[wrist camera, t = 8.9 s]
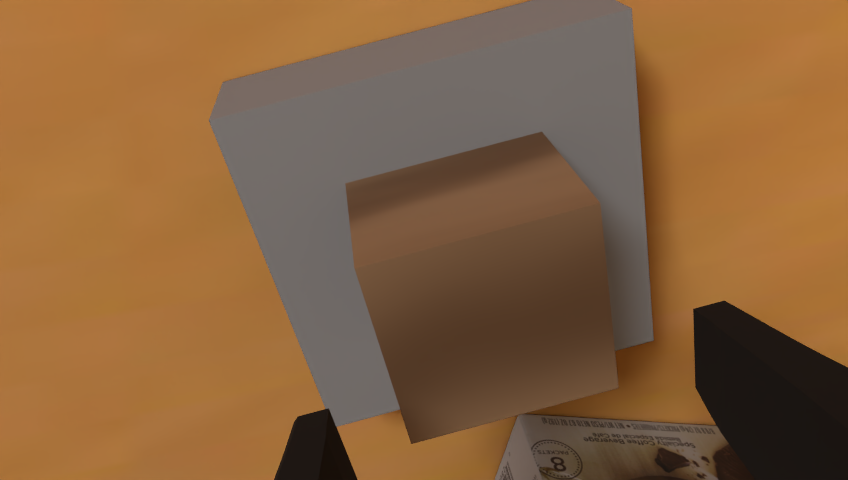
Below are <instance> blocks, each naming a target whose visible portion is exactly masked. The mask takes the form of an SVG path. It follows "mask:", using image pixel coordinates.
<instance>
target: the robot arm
mask: <svg viewBox="0 0 848 480" xmlns="http://www.w3.org/2000/svg"><path fill="white" fill-rule="evenodd" d="M693 312H694V348H695V384H696V389H697V391H698V393H699V395H700V396H701V398H702V400H703V402H704V404H705V406H706V407H707V409H708V411H709V413H710V415H711V416H712V418H713V420H714V422H715V423H716V425H717V427H718V428H719V430H720V432H721V434H722V435H723V436H724V438H725V439H726V441H727V442H728V443H729V445H730V446H731V447H732V449H733V450H734V451H735V453H736V454H737V456H738V457H739V458H740V460H741V461H742V462H743V464H744V465H745V466H746V468H747V469H748V471H749V472H750V473H751V475H752V476H753V477H754V479H755V480H848V367H846V366H844V365H842V364H840V363H838V362H836V361H834V360H832V359H830V358H828V357H826V356H824V355H822V354H820V353H818V352H816V351H814V350H812V349H810V348H809V347H807V346H805V345H803V344H801V343H799V342H797V341H796V340H794V339H792V338H790V337H788V336H787V335H785V334H783V333H781V332H779V331H778V330H776V329H774V328H772V327H770V326H769V325H767V324H765V323H763V322H761V321H760V320H758V319H756V318H754V317H753V316H751V315H749V314H747V313H746V312H744V311H742V310H740V309H738V308H737V307H735V306H733V305H731V304H729V303H727V302H726V301H721V302H717V303H714V304H710V305H706V306H703V307H699V308H695V309H693ZM274 480H357V477H356V475H355V472H354V470H353V467H352V465H351V462H350V460H349V457H348V455H347V452H346V450H345V447H344V445H343V442H342V440H341V438H340V435H339V433H338V430H337V428H336V425H335V423H334V420H333V418H332V415H331V413H330V410H329V408H328V409H324V410H321V411H317V412H313V413H310V414H306V415H302V416H299V417H297V419H296V420H295V422H294V424H293V427H292V430H291V433H290V436H289V439H288V442H287V445H286V448H285V451H284V454H283V457H282V460H281V462H280V465H279V468H278V471H277V473H276V476H275V479H274Z"/></svg>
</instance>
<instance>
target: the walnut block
mask: <svg viewBox="0 0 848 480" xmlns="http://www.w3.org/2000/svg"><path fill="white" fill-rule="evenodd" d="M345 185H346V195H347V204H348V213H349V223H350V232H351V241H352V251H353V260H354V269H355V272H356V275H357V278H358V281H359V284H360V287H361V290H362V293H363V296H364V299H365V302H366V306H367V309H368V312H369V315H370V318H371V321H372V324H373V327H374V330H375V333H376V336H377V339H378V343H379V346H380V349H381V352H382V355H383V358H384V361H385V364H386V367H387V370H388V373H389V376H390V380H391V383H392V386H393V389H394V392H395V395H396V398H397V401H398V404H399V407H400V410H401V413H402V417H403V420H404V423H405V426H406V429H407V432H408V435H409V438H410V441H411V444H413V443H416V442H420V441H424V440H428V439H431V438H435V437H439V436H442V435H446V434H450V433H454V432H457V431H461V430H465V429H468V428H472V427H476V426H480V425H483V424H487V423H491V422H494V421H498V420H502V419H506V418H509V417H513V416H517V415H520V414H524V413H528V412H531V411H535V410H539V409H543V408H546V407H550V406H554V405H557V404H561V403H565V402H569V401H572V400H576V399H580V398H583V397H587V396H591V395H595V394H598V393H602V392H606V391H609V390H613V389H617V388H619V386H618V376H617V366H616V356H615V345H614V335H613V325H612V315H611V305H610V295H609V285H608V275H607V265H606V255H605V245H604V235H603V225H602V215H601V205H600V202H599V201H598V200H597V198H596V197H595V196H594V195H593V193H592V192H591V191H590V190H589V189H588V187H587V186H586V185H585V184H584V182H583V181H582V180H581V179H580V178H579V176H578V175H577V174H576V173H575V171H574V170H573V169H572V168H571V167H570V165H569V164H568V163H567V162H566V160H565V159H564V158H563V157H562V156H561V154H560V153H559V152H558V151H557V149H556V148H555V147H554V146H553V145H552V143H551V142H550V141H549V140H548V138H547V137H546V136H545V135H544V134H543V132H538V133H534V134H530V135H527V136H523V137H519V138H515V139H511V140H508V141H504V142H500V143H496V144H493V145H489V146H485V147H481V148H477V149H474V150H470V151H466V152H462V153H458V154H455V155H451V156H447V157H443V158H439V159H436V160H432V161H428V162H424V163H420V164H417V165H413V166H409V167H405V168H401V169H398V170H394V171H390V172H386V173H382V174H379V175H375V176H371V177H367V178H363V179H360V180H356V181H352V182H348V183H345Z"/></svg>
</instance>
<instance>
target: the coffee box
mask: <svg viewBox="0 0 848 480" xmlns="http://www.w3.org/2000/svg"><path fill="white" fill-rule="evenodd" d="M495 480H755V479H754V477H753V476H752V475H751V473H750V472H749V471H748V469H747V468H746V466H745V465H744V464H743V462H742V461H741V460H740V458H739V457H738V456H737V454H736V453H735V451H734V450H733V449H732V447H731V446H730V445H729V443H728V442H727V441H726V439H725V438H724V436H723V435H722V434H721V432H720V430H719V428H718V427H717V426H713V425H694V424H676V423H661V422H646V421H628V420H611V419H595V418H580V417H565V416H549V415H533V414H520V415H519V416H518V417H517V419H516V422H515V425H514V427H513V430H512V433H511V436H510V438H509V441H508V444H507V447H506V450H505V452H504V455H503V458H502V461H501V464H500V466H499V469H498V472H497V475H496V478H495Z"/></svg>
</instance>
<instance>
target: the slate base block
mask: <svg viewBox="0 0 848 480" xmlns="http://www.w3.org/2000/svg"><path fill="white" fill-rule="evenodd" d="M209 122H210V125H211V127H212V129H213V132H214V134H215V137H216V139H217V142H218V144H219V147H220V149H221V152H222V154H223V157H224V159H225V162H226V164H227V166H228V169H229V171H230V174H231V176H232V179H233V181H234V184H235V186H236V189H237V191H238V194H239V196H240V199H241V201H242V203H243V206H244V208H245V211H246V213H247V216H248V218H249V221H250V223H251V226H252V228H253V231H254V233H255V236H256V238H257V240H258V243H259V245H260V248H261V250H262V253H263V255H264V258H265V260H266V263H267V265H268V268H269V270H270V273H271V275H272V277H273V280H274V282H275V285H276V287H277V290H278V292H279V295H280V297H281V300H282V302H283V305H284V307H285V310H286V312H287V314H288V317H289V319H290V322H291V324H292V327H293V329H294V332H295V334H296V337H297V339H298V342H299V344H300V347H301V349H302V351H303V354H304V356H305V359H306V361H307V364H308V366H309V369H310V371H311V374H312V376H313V379H314V381H315V384H316V386H317V388H318V391H319V393H320V396H321V398H322V401H323V403H324V406H325V408H326V409H328V408H329V410H330V413H331V415H332V418H333V420H334V423H335V425H336V427H337V426H341V425H345V424H348V423H352V422H356V421H359V420H363V419H367V418H370V417H374V416H378V415H381V414H385V413H389V412H392V411H396V410H400V407H399V404H398V401H397V398H396V395H395V392H394V389H393V386H392V383H391V380H390V376H389V373H388V370H387V367H386V364H385V361H384V358H383V355H382V352H381V349H380V346H379V343H378V339H377V336H376V333H375V330H374V327H373V324H372V321H371V318H370V315H369V312H368V309H367V306H366V302H365V299H364V296H363V293H362V290H361V287H360V284H359V281H358V278H357V275H356V272H355V269H354V260H353V251H352V241H351V232H350V223H349V213H348V204H347V195H346V185H345V183H348V182H352V181H356V180H360V179H363V178H367V177H371V176H375V175H379V174H382V173H386V172H390V171H394V170H398V169H401V168H405V167H409V166H413V165H417V164H420V163H424V162H428V161H432V160H436V159H439V158H443V157H447V156H451V155H455V154H458V153H462V152H466V151H470V150H474V149H477V148H481V147H485V146H489V145H493V144H496V143H500V142H504V141H508V140H511V139H515V138H519V137H523V136H527V135H530V134H534V133H538V132H543V134H544V135H545V136H546V137H547V138H548V140H549V141H550V142H551V143H552V145H553V146H554V147H555V148H556V149H557V151H558V152H559V153H560V154H561V156H562V157H563V158H564V159H565V160H566V162H567V163H568V164H569V165H570V167H571V168H572V169H573V170H574V171H575V173H576V174H577V175H578V176H579V178H580V179H581V180H582V181H583V182H584V184H585V185H586V186H587V187H588V189H589V190H590V191H591V192H592V193H593V195H594V196H595V197H596V198H597V200H598V201H599V202H600V205H601V215H602V225H603V235H604V245H605V255H606V265H607V275H608V285H609V295H610V305H611V315H612V325H613V335H614V345H615V351H617V350H621V349H624V348H628V347H632V346H635V345H639V344H643V343H646V342H650V341H654V338H653V323H652V308H651V293H650V277H649V262H648V247H647V232H646V217H645V202H644V187H643V172H642V156H641V141H640V126H639V111H638V96H637V81H636V66H635V51H634V36H633V20H632V8H630V7H628V6H626V5H624V4H622V3H620V2H618V1H616V0H532V1H528V2H524V3H521V4H517V5H513V6H509V7H506V8H502V9H498V10H494V11H490V12H487V13H483V14H479V15H475V16H471V17H468V18H464V19H460V20H456V21H453V22H449V23H445V24H441V25H437V26H434V27H430V28H426V29H422V30H419V31H415V32H411V33H407V34H403V35H400V36H396V37H392V38H388V39H384V40H381V41H377V42H373V43H369V44H366V45H362V46H358V47H354V48H350V49H347V50H343V51H339V52H335V53H332V54H328V55H324V56H320V57H316V58H313V59H309V60H305V61H301V62H297V63H294V64H290V65H286V66H282V67H279V68H275V69H271V70H267V71H263V72H260V73H256V74H252V75H248V76H245V77H241V78H237V79H233V80H229V81H226V82H223V83H222V86H221V89H220V92H219V94H218V97H217V100H216V103H215V105H214V108H213V111H212V113H211V116H210V119H209Z"/></svg>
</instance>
